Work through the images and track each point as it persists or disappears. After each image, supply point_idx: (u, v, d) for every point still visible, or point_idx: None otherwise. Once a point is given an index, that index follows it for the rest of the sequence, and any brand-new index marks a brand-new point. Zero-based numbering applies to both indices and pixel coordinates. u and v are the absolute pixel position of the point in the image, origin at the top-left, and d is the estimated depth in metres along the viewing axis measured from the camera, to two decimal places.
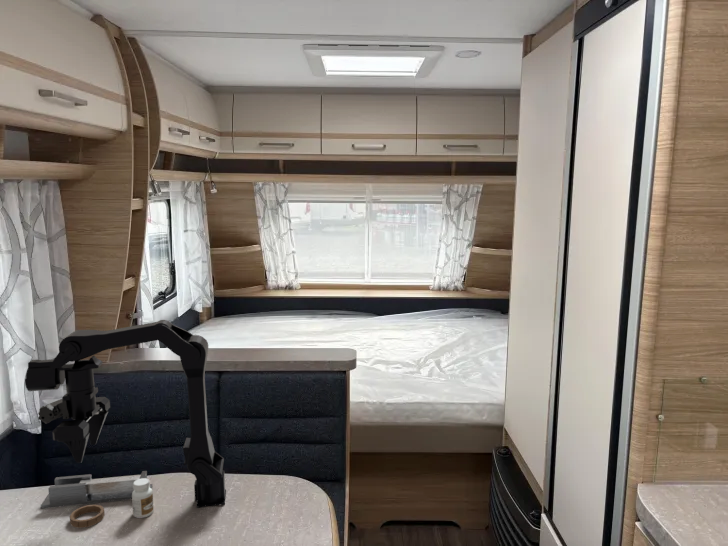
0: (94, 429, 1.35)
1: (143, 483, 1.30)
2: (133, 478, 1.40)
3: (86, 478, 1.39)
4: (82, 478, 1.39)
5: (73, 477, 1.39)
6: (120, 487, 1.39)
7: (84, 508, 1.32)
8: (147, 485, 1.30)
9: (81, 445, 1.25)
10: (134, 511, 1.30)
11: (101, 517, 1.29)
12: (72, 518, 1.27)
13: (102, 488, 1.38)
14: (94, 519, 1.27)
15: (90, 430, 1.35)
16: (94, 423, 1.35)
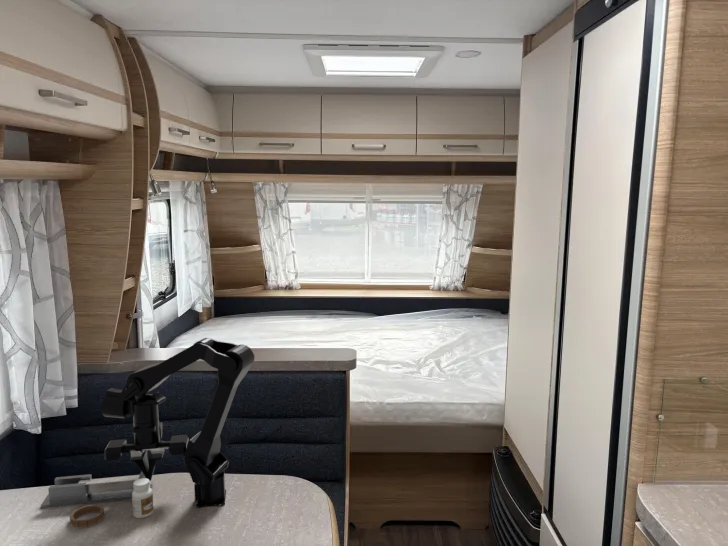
0: None
1: (143, 483, 1.30)
2: (132, 478, 1.39)
3: (86, 478, 1.39)
4: (82, 478, 1.39)
5: (73, 477, 1.39)
6: (119, 487, 1.39)
7: (84, 508, 1.32)
8: (147, 485, 1.30)
9: None
10: (134, 511, 1.30)
11: (101, 517, 1.29)
12: (72, 518, 1.27)
13: (101, 488, 1.38)
14: (94, 519, 1.27)
15: None
16: None
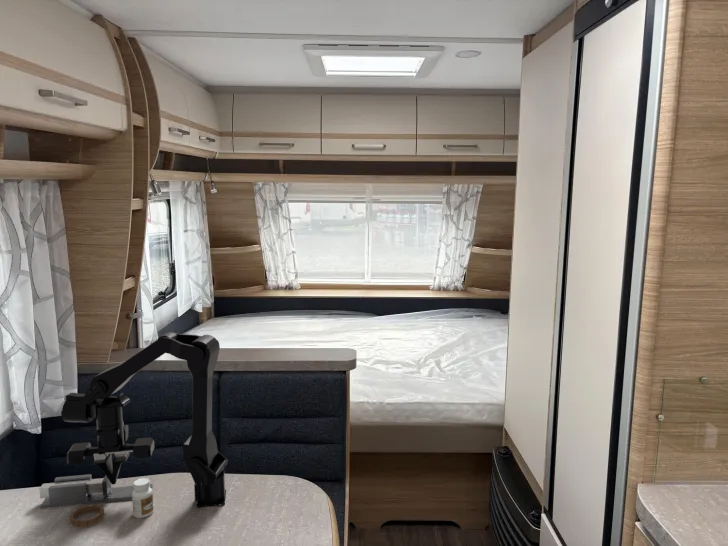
0: None
1: (143, 483, 1.30)
2: (96, 482, 1.38)
3: (86, 478, 1.39)
4: (82, 478, 1.39)
5: (73, 477, 1.39)
6: None
7: (84, 508, 1.32)
8: (147, 485, 1.30)
9: None
10: (134, 511, 1.30)
11: (101, 517, 1.29)
12: (72, 518, 1.27)
13: None
14: (94, 519, 1.27)
15: None
16: None
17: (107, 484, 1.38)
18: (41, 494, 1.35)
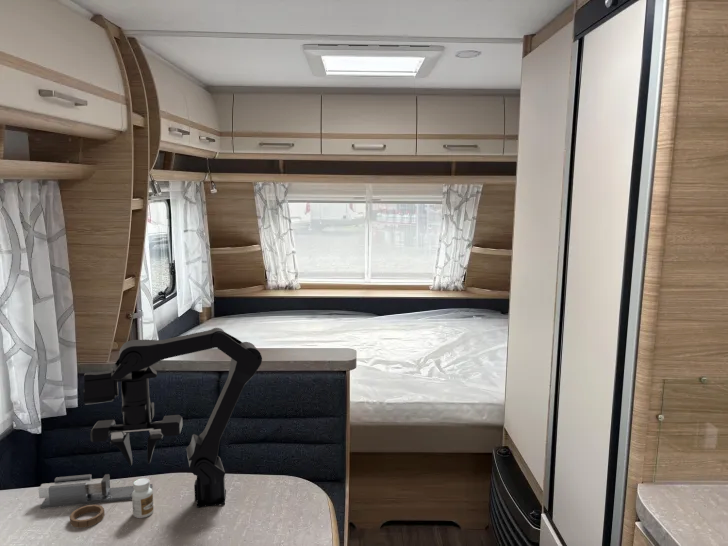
0: None
1: (143, 483, 1.30)
2: (95, 482, 1.38)
3: (86, 478, 1.39)
4: (82, 478, 1.39)
5: (73, 477, 1.39)
6: None
7: (84, 508, 1.32)
8: (147, 485, 1.30)
9: None
10: (134, 511, 1.30)
11: (101, 517, 1.29)
12: (72, 518, 1.27)
13: None
14: (94, 519, 1.27)
15: None
16: None
17: (106, 484, 1.38)
18: (40, 494, 1.35)
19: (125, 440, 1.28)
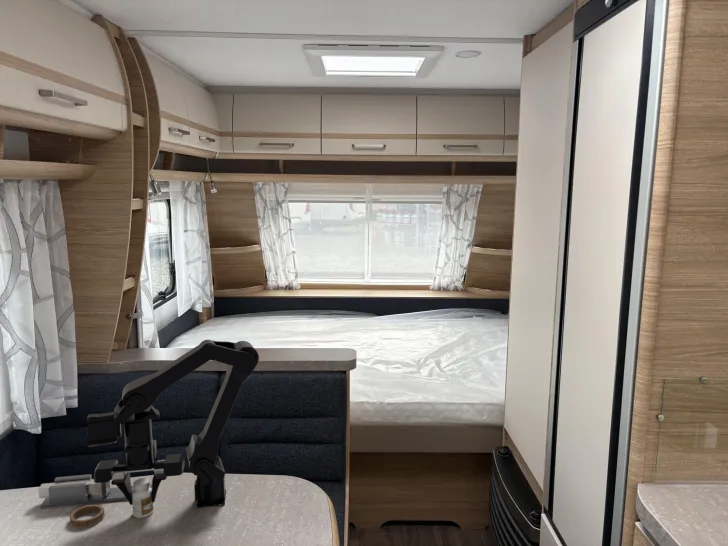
0: None
1: (143, 483, 1.30)
2: None
3: (86, 478, 1.39)
4: (82, 478, 1.39)
5: (73, 477, 1.39)
6: None
7: (84, 508, 1.32)
8: (147, 485, 1.30)
9: None
10: (134, 511, 1.30)
11: (101, 517, 1.29)
12: (72, 518, 1.27)
13: None
14: (94, 519, 1.27)
15: None
16: None
17: (106, 484, 1.38)
18: (40, 494, 1.35)
19: (126, 480, 1.29)
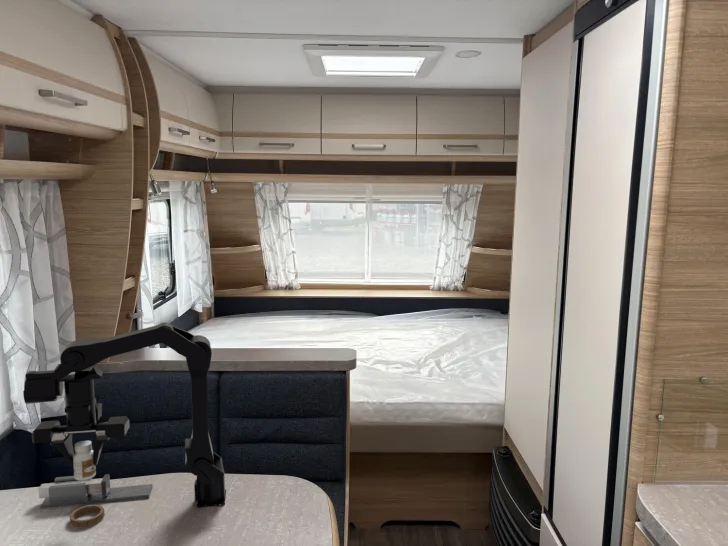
0: None
1: (84, 445, 1.27)
2: (95, 482, 1.38)
3: None
4: None
5: (73, 477, 1.39)
6: None
7: (84, 508, 1.32)
8: (89, 447, 1.27)
9: None
10: (75, 473, 1.26)
11: (101, 517, 1.29)
12: (72, 518, 1.27)
13: None
14: (94, 519, 1.27)
15: None
16: None
17: (106, 484, 1.38)
18: (40, 494, 1.35)
19: (66, 442, 1.25)
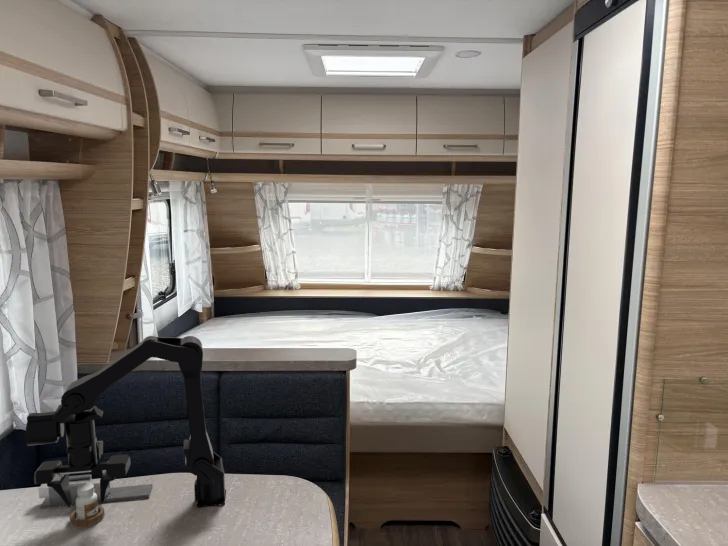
0: None
1: (87, 488, 1.28)
2: (95, 482, 1.38)
3: (86, 478, 1.39)
4: (82, 478, 1.39)
5: (73, 477, 1.39)
6: None
7: None
8: (91, 490, 1.28)
9: None
10: (77, 517, 1.28)
11: (101, 517, 1.29)
12: (72, 518, 1.27)
13: None
14: (94, 519, 1.27)
15: None
16: None
17: None
18: (40, 494, 1.35)
19: (63, 482, 1.26)
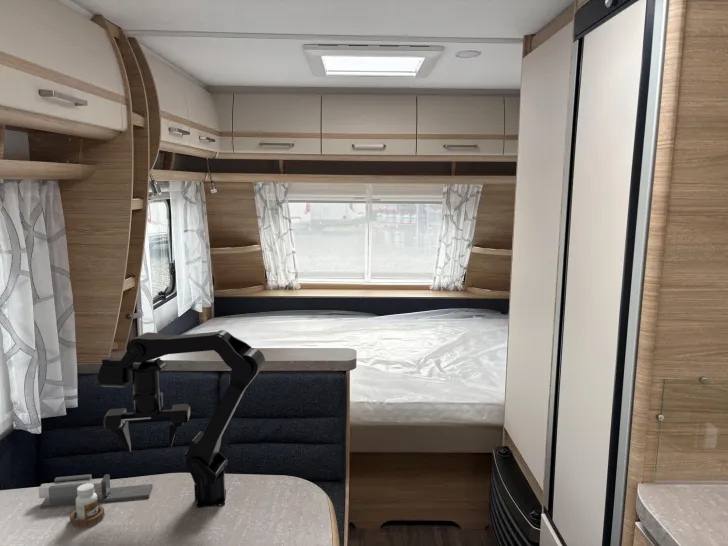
0: None
1: (87, 488, 1.28)
2: (95, 482, 1.38)
3: (86, 478, 1.39)
4: (82, 478, 1.39)
5: (73, 477, 1.39)
6: None
7: None
8: (91, 490, 1.28)
9: None
10: (78, 517, 1.28)
11: (101, 517, 1.29)
12: (72, 518, 1.27)
13: None
14: (94, 519, 1.27)
15: None
16: None
17: (106, 484, 1.38)
18: (40, 494, 1.35)
19: (124, 428, 1.34)
